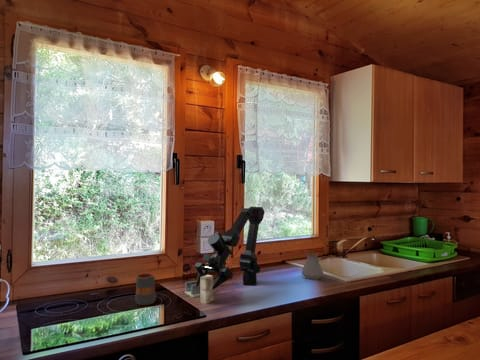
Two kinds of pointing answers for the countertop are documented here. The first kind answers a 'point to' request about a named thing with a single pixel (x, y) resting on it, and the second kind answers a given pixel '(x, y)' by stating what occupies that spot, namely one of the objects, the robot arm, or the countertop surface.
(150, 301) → the mug
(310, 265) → the coffee pot
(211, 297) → the ash slab
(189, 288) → the grey channel bracket
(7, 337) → the countertop surface
